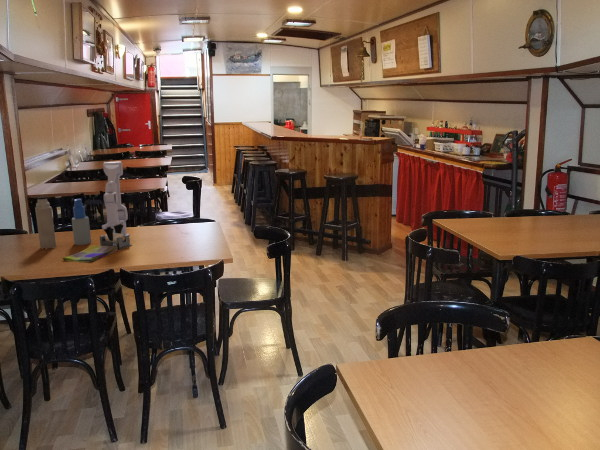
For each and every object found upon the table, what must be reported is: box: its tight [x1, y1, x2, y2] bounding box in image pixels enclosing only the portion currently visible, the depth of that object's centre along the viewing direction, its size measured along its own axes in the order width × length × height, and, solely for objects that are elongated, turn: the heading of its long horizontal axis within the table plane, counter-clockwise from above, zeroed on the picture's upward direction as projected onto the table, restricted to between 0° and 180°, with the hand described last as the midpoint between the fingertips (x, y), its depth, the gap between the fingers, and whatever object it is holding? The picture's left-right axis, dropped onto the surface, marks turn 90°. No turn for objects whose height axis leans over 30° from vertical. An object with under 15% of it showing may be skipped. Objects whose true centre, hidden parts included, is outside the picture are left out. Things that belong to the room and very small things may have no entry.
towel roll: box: [104, 233, 125, 243], centre depth 305 cm, size 13×5×5 cm, turn 64°
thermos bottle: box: [34, 196, 57, 250], centre depth 305 cm, size 8×8×28 cm
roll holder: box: [99, 234, 133, 251], centre depth 306 cm, size 15×10×6 cm, turn 64°
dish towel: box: [62, 244, 118, 264], centre depth 290 cm, size 18×24×3 cm
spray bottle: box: [71, 198, 92, 246], centre depth 313 cm, size 9×9×25 cm
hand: (114, 239), depth 306 cm, fingers closed on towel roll, 5 cm apart
